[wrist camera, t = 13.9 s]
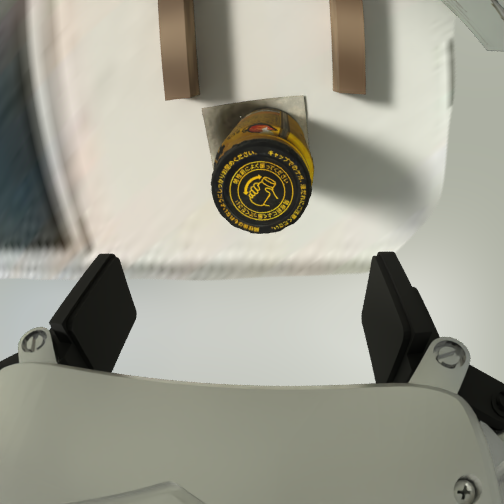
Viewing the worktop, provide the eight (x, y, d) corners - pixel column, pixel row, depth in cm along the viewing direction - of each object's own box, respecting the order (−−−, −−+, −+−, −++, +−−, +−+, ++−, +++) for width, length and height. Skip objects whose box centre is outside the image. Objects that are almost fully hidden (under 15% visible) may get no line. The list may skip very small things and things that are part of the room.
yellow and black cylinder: (311, 176, 28) (328, 245, 18) (217, 186, 29) (180, 257, 19) (303, 94, 24) (320, 110, 14) (202, 108, 25) (149, 134, 15)
